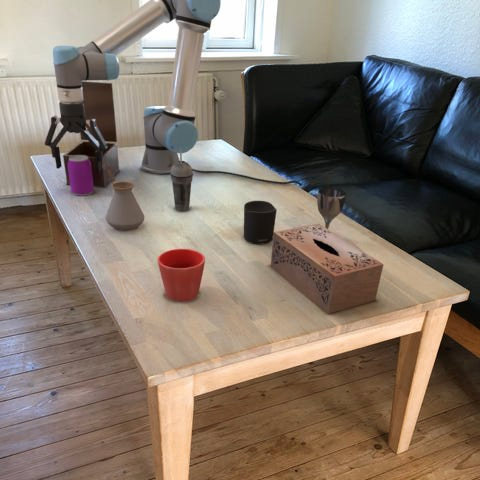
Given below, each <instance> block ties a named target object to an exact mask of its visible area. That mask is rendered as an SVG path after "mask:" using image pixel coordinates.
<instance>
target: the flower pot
mask: <svg viewBox="0 0 480 480" xmlns="http://www.w3.org/2000/svg"><path fill="white" fill-rule="evenodd" d="M205 262H206V256H205V255H204V254H203V253H201V252H200V251H198V250H195V249H191V248H174V249H170V250H169V249H168V250H166V251H164V252H162V253H160V254H159V256H158V257H157V265H158V268H159V272H160V276H161V280H162V284H163V289H164V292H165V295H166V297H167V298H168V299H169V300H171V301H173V302H179V303H185V302H190V301H193V300H195V299H196V298H198V295H199V292H200V288H201V284H202V279H203V274H204V269H205V264H206V263H205Z"/></svg>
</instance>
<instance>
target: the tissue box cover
mask: <svg viewBox="0 0 480 480" xmlns="http://www.w3.org/2000/svg"><path fill="white" fill-rule="evenodd" d="M270 268H271V269H273V270H274V271H275V272H277V273H278V274H279V275H280V276H282V277H283V278H284V279H285V280H286V281H288V282H289V283H290V284H291V285H292V286H293V287H295V288H296V289H297V290H298V291H300V292H301V293H302V294H304V295H305V296H306V297H307V298H308V299H309V300H311V301H312V302H313V303H314V304H315V305H317V306H318V307H319V308H320V309H322V311H324V312H325V313H327V314H329V315H330V314H333V313H336V312H339V311H344V310H347V309H350V308H353V307H357V306H360V305H363V304H364V305H365V304H367V303H372V302H374V301H376V299H377V295H378V290H379V285H380V281H381V278H382V272H383V269H384V263H383V262H381V261H379V260H377V259H376V258H374V257H373V256H371V255H370V254H368V253H366V252H365V251H363V250H362V249H360V248H358V247H357V246H356V245H354V244H352V243H350V242H349V241H348V240H346V239H344V238H342V237H341V236H340V235H338V234H336V233H335V232H333V231H331V230H330V229H329V228H328V229H327V228H325V225H324V226H323V225H322V224H320V223H314V224H309V225H308V224H307V225H304V226H298V227H292V228H288V229H282V230H277V231H274V233H273V239H272V246H271V257H270Z"/></svg>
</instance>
